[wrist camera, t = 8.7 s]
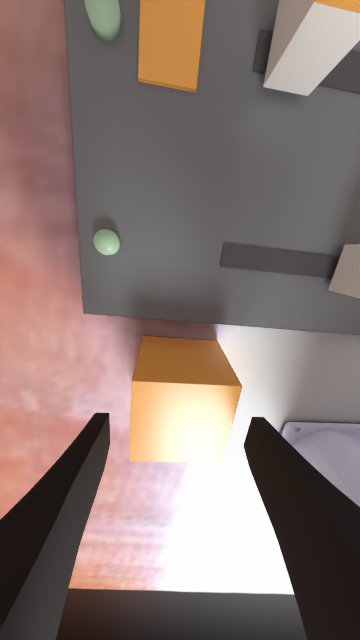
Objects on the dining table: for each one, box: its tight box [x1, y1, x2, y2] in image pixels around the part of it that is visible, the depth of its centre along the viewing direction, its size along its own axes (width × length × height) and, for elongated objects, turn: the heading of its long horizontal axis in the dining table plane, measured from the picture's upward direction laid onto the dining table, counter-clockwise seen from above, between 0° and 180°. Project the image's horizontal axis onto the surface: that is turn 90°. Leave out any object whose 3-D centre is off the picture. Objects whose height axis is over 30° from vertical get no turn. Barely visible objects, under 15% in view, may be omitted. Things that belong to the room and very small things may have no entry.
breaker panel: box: [64, 0, 360, 335], centre depth 10 cm, size 20×16×2 cm
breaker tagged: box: [263, 0, 360, 96], centre depth 6 cm, size 2×2×3 cm
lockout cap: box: [129, 336, 242, 462], centre depth 13 cm, size 5×5×5 cm
